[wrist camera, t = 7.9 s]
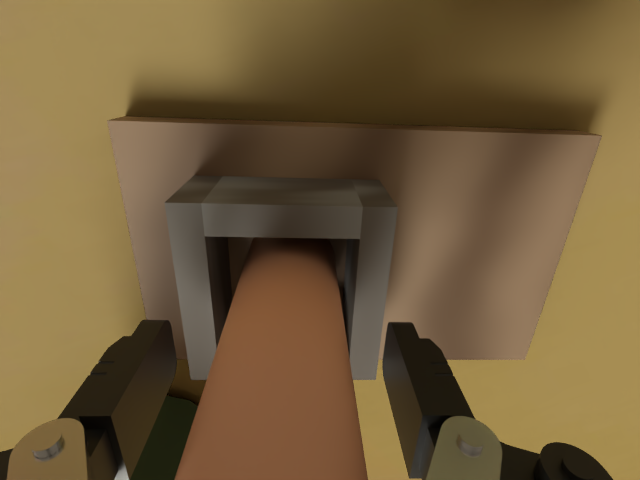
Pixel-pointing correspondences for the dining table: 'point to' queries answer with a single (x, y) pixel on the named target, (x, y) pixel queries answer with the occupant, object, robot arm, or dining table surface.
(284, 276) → the peg
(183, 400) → the character mug
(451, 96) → the dining table surface
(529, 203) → the holder
